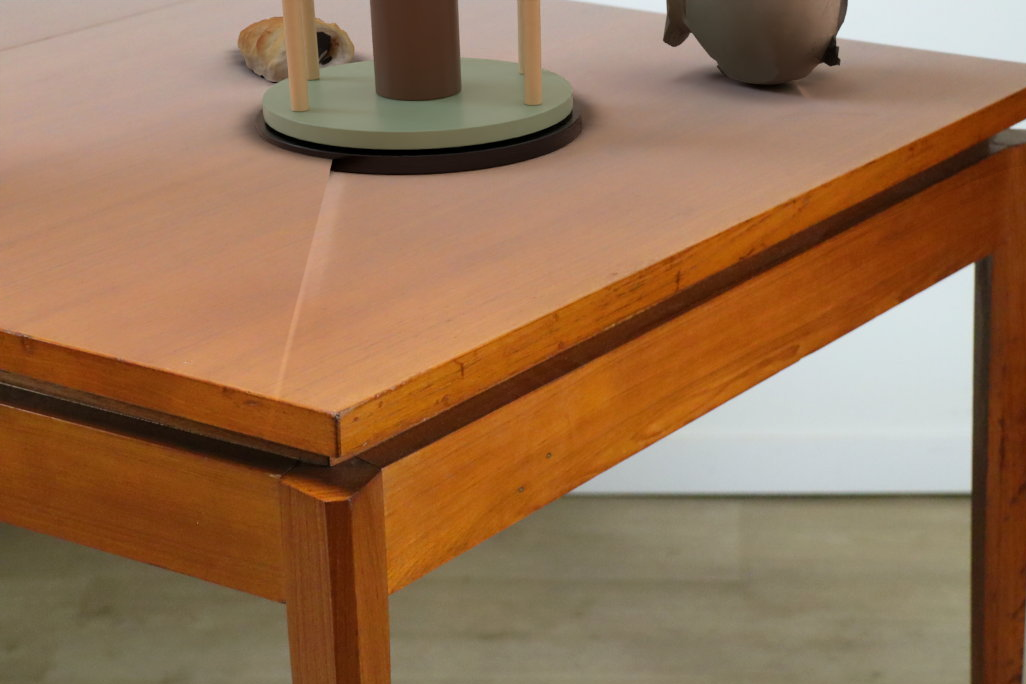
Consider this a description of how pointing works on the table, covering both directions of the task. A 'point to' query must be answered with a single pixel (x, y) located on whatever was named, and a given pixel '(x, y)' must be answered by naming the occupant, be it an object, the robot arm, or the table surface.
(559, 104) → the rack
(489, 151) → the rack base
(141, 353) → the table surface
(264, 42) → the pastry
